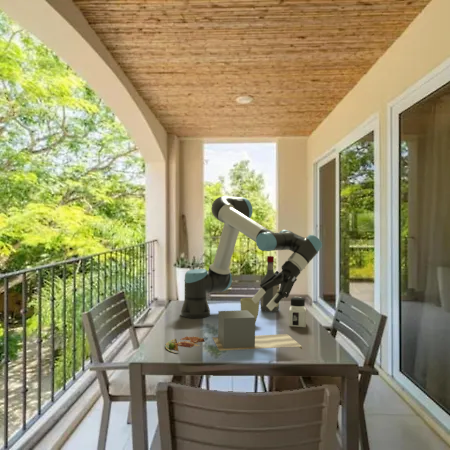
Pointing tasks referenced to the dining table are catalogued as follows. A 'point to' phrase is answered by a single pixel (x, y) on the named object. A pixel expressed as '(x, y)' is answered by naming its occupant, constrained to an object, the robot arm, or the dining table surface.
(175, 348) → the food
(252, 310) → the mug
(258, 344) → the board
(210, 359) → the dining table surface
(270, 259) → the liquor
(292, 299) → the container
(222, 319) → the grey matte cube
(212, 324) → the dining table surface
